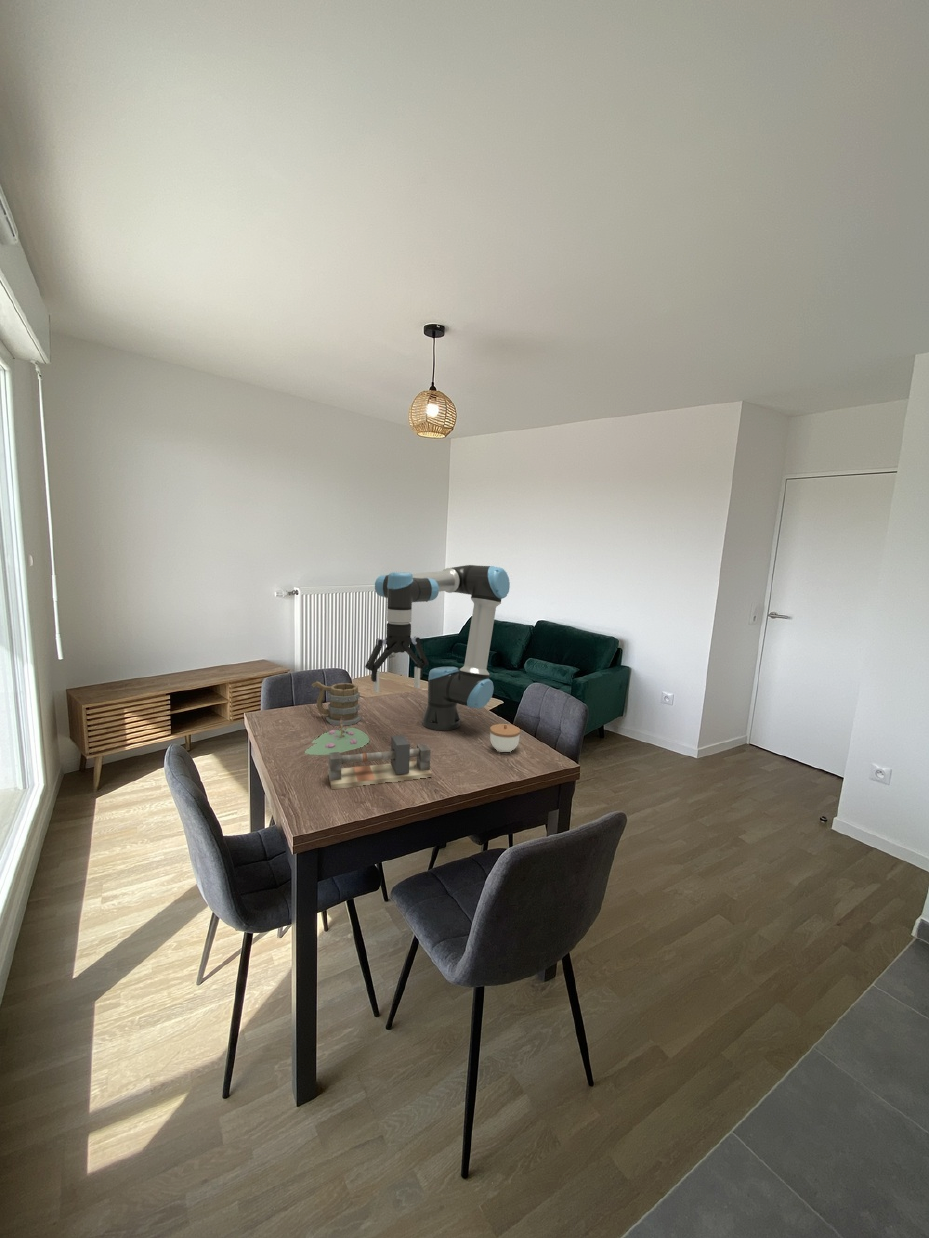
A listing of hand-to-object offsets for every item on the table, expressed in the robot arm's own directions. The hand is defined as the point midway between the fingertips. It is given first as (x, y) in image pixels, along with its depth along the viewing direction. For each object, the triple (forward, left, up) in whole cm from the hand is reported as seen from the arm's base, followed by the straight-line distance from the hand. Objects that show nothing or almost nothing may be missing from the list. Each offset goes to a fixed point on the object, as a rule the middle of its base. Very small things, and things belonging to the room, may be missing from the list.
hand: (397, 689), depth 159 cm
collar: (0, +6, -23) cm, 24 cm away
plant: (+16, -24, -26) cm, 39 cm away
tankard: (+14, -49, -26) cm, 57 cm away
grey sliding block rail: (+6, +6, -25) cm, 27 cm away
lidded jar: (-40, -4, -26) cm, 48 cm away
